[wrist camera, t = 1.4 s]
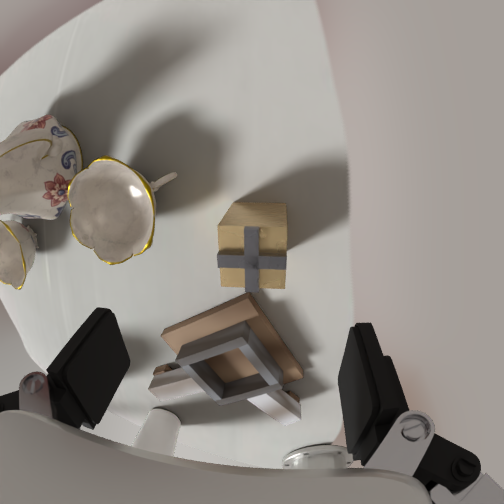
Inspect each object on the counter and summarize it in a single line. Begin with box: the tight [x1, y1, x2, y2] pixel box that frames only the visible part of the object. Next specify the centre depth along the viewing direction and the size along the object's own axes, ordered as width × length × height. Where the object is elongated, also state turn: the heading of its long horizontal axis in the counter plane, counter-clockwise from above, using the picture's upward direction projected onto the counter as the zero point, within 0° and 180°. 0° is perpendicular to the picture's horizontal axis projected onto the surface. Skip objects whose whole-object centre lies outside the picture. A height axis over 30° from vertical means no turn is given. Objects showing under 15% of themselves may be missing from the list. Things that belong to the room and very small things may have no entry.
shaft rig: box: [148, 292, 303, 426], centre depth 31 cm, size 17×16×4 cm
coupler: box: [217, 202, 287, 292], centre depth 22 cm, size 4×4×7 cm
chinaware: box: [0, 115, 177, 290], centre depth 19 cm, size 28×17×17 cm, turn 110°
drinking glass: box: [131, 409, 181, 457], centre depth 31 cm, size 7×7×15 cm
